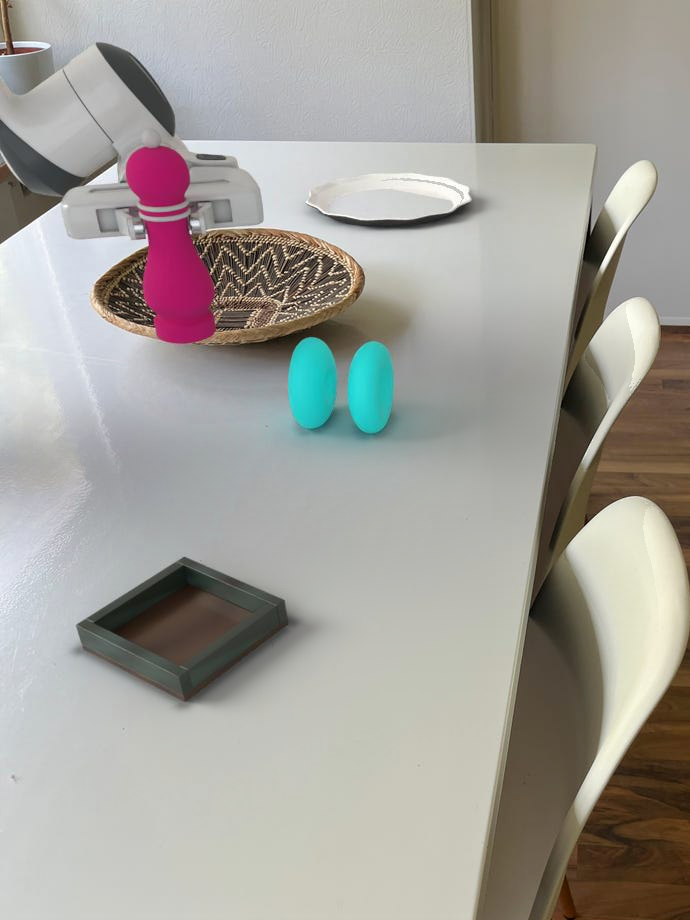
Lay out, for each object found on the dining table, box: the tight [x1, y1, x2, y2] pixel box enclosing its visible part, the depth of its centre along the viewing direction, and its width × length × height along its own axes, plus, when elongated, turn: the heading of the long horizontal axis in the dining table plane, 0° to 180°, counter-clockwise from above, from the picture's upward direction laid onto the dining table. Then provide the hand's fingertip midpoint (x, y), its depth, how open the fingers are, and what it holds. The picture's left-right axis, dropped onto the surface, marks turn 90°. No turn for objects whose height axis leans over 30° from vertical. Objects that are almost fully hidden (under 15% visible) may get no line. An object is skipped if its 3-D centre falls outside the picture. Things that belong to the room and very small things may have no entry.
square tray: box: [75, 556, 289, 703], centre depth 86 cm, size 12×12×3 cm
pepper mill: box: [126, 129, 217, 345], centre depth 103 cm, size 7×7×20 cm
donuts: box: [287, 336, 395, 435], centre depth 114 cm, size 10×10×10 cm
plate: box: [305, 172, 473, 228], centre depth 184 cm, size 29×29×2 cm
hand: (168, 229), depth 102 cm, fingers closed on pepper mill, 4 cm apart
